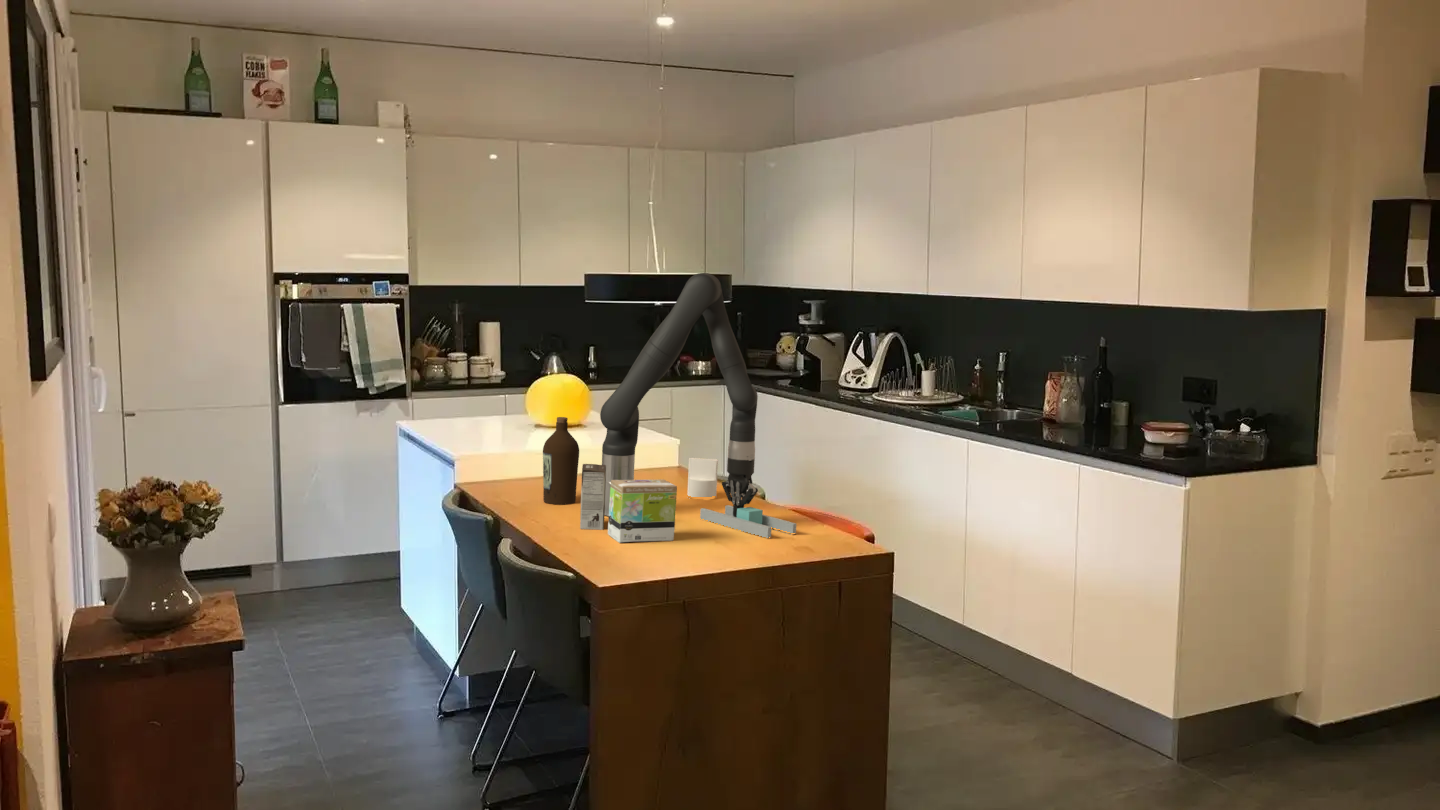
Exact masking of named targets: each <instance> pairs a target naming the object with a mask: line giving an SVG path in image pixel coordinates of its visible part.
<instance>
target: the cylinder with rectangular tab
mask: <svg viewBox="0 0 1440 810" xmlns="http://www.w3.org/2000/svg"><path fill="white" fill-rule="evenodd" d="M718 463H719V460H718V459H717V458H702V457H689V458H688V469H687V473H688V475H687V476H688V477H687V492H686V493H687V495H688V496H691V497H712V496H716V497H717V488H718V487H717V485H718V469H719V468H718V467H719V466H718V465H719V464H718ZM687 495H686V496H687Z"/></svg>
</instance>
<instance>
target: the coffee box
mask: <svg viewBox="0 0 1440 810" xmlns="http://www.w3.org/2000/svg"><path fill="white" fill-rule="evenodd" d="M581 469H582V470H581V487H580V517H579V518H580V525H579V526H580V527H579V529H580V530H596V531H597V530H600V531H601V530H602V531H603V530H604V526H605V515H604V513H605V488H606V465H602V464H596V463H583V464H582V467H581Z"/></svg>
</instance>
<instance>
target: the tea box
mask: <svg viewBox="0 0 1440 810" xmlns="http://www.w3.org/2000/svg"><path fill="white" fill-rule="evenodd" d="M677 492H678V486H677V485H675V484H673V483H671V482H670V481H667V480H666V479H664V478H663V479H661V478H660V479H659V478H658V479H634V480H611V486H610V502H609V516H608V521H607V522H608V523H607V535H608V536H609V537H610V538H612V539H614V541H616V542H617V543H619V544H620V543H629V542H631V543H632V542H634V543H635V542H672V541H674V539H675V529H676V527H675V526H676V508H677Z"/></svg>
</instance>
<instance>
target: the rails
mask: <svg viewBox="0 0 1440 810" xmlns="http://www.w3.org/2000/svg"><path fill="white" fill-rule="evenodd" d="M724 507H725V508H724V512H723V513H722V512H719V511H714V510H712V509H708V508H705V507H704V508H700V510H699V511H700V513H699V514H700V515H699V519H700V518H701V519H700V520H702V519H704V520H703V521H705V520H708V521H707V522H709V521H711V522H710V523H712V522H714V523H713V524H715V523H718V524H717V525H719V524H721V525H720V526H722V525H724V526H723V527H726V526H728V527H727V528H729V527H731V528H730V529H732V528H734V529H733V530H736V529H738V530H737V531H739V530H741V531H740V532H743V531H744V532H743V533H746V532H748V533H747V534H749V533H751V534H750V535H753V534H755V535H754V536H756V535H759V536H758V537H760V536H762V537H761V538H763V537H766V538H769V537H771V538H772V529H771V527H772V528H776V529H780V530H783V531H787V532H790V533H796V534H797V523H796V522H791V521H789V520H785V519H780V518H777V517H774V516H770V515H766V514H763V515H762V524H758V523H755V522H751V521H748V520H744V519H741V518H737V517H734V516H733V505H729V504H728V505H725V506H724ZM766 538H765V539H766Z"/></svg>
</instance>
